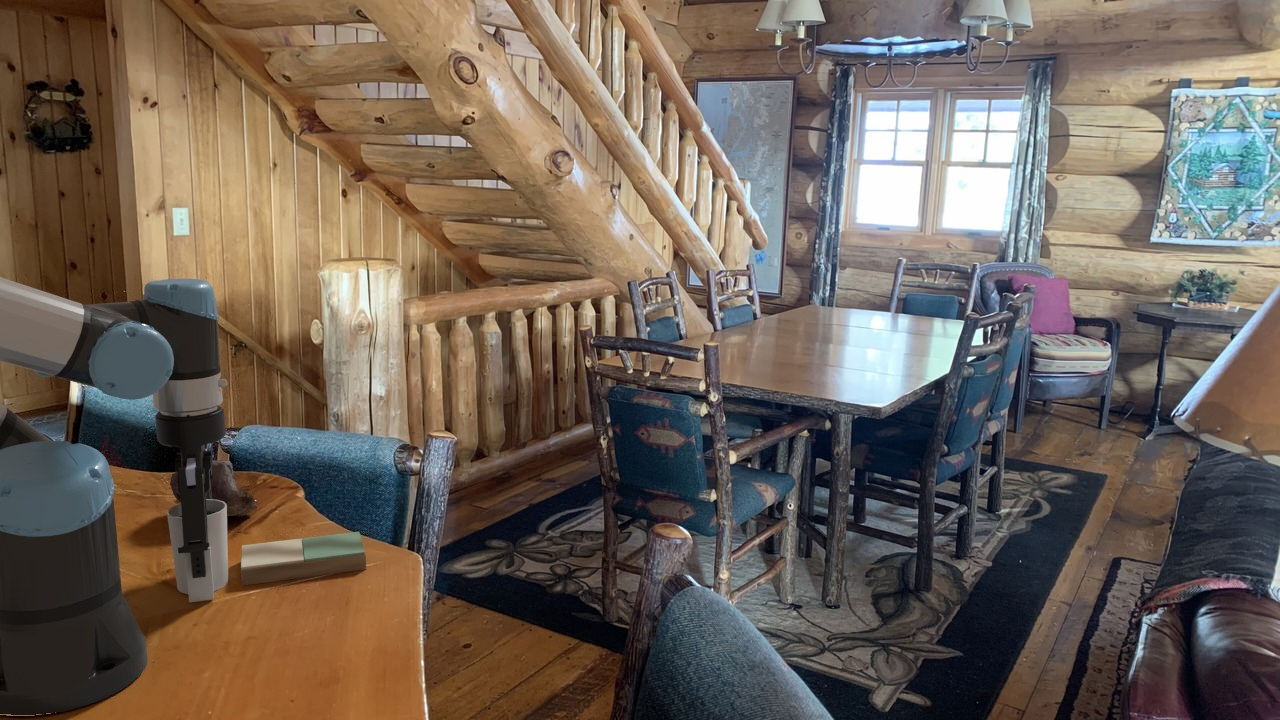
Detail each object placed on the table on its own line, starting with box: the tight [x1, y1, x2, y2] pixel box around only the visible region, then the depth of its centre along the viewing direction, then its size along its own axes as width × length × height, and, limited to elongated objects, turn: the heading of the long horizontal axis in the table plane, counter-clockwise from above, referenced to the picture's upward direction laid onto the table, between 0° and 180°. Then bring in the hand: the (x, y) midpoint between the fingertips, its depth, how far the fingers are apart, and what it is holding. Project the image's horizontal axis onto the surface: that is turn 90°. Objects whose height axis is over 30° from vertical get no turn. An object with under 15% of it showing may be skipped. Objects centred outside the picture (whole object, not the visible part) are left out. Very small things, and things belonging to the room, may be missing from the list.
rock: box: [169, 459, 258, 518], centre depth 141 cm, size 12×9×10 cm
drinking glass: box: [166, 499, 229, 595], centre depth 118 cm, size 7×7×10 cm
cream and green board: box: [240, 531, 367, 586], centre depth 125 cm, size 8×15×2 cm, turn 112°
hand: (203, 582), depth 119 cm, fingers open, 9 cm apart
